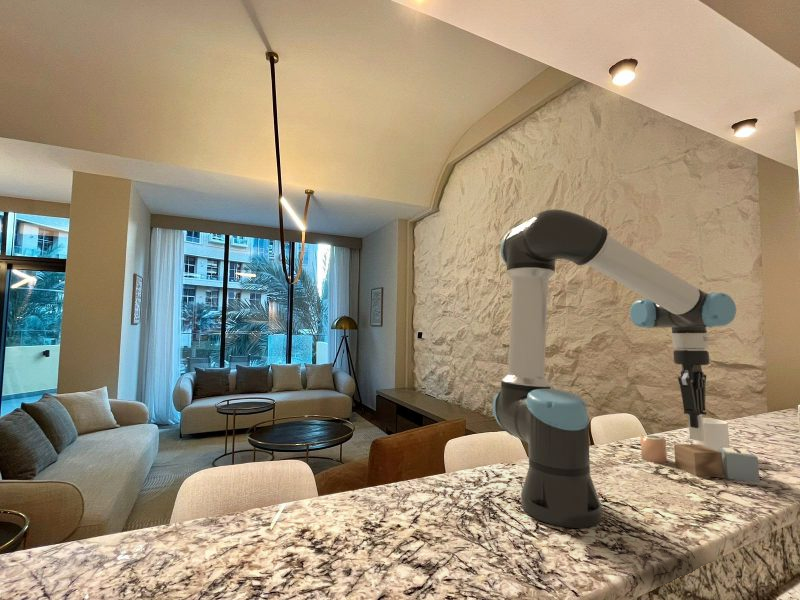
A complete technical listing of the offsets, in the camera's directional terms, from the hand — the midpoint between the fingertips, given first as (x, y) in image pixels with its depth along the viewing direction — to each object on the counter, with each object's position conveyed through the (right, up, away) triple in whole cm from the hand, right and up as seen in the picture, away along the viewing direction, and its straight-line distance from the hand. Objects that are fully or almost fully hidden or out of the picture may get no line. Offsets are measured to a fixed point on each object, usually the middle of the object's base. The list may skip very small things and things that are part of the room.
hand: (697, 439), depth 99 cm
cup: (+15, -9, +13) cm, 22 cm away
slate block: (+7, -8, -4) cm, 12 cm away
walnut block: (0, -8, -1) cm, 8 cm away
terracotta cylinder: (-6, -9, +8) cm, 13 cm away
